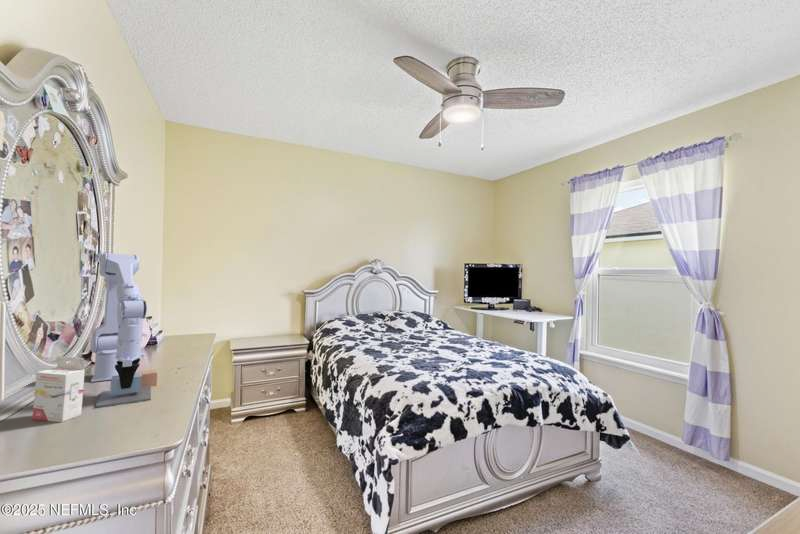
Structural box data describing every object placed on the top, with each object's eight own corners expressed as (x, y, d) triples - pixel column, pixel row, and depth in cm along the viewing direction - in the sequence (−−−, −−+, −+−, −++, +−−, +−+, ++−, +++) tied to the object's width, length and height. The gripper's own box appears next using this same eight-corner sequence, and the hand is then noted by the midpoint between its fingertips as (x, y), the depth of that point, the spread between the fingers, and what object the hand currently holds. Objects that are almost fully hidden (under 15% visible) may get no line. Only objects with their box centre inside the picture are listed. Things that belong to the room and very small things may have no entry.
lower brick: (111, 391, 100) (112, 375, 101) (140, 387, 105) (141, 372, 105) (109, 395, 97) (111, 379, 97) (140, 391, 101) (141, 376, 101)
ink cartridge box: (30, 420, 83) (35, 359, 83) (52, 412, 88) (57, 355, 88) (61, 423, 82) (66, 361, 83) (82, 415, 87) (87, 357, 88)
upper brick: (128, 386, 110) (130, 372, 111) (155, 382, 115) (156, 369, 115) (129, 390, 107) (130, 375, 107) (156, 386, 112) (157, 372, 112)
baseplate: (101, 393, 103) (101, 391, 103) (150, 387, 110) (150, 385, 110) (95, 408, 91) (95, 405, 91) (150, 400, 99) (150, 398, 99)
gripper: (146, 343, 98) (142, 390, 97) (146, 335, 110) (143, 378, 109) (114, 345, 94) (110, 394, 93) (118, 337, 105) (114, 381, 105)
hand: (126, 386), depth 101 cm, fingers closed on lower brick, 4 cm apart
